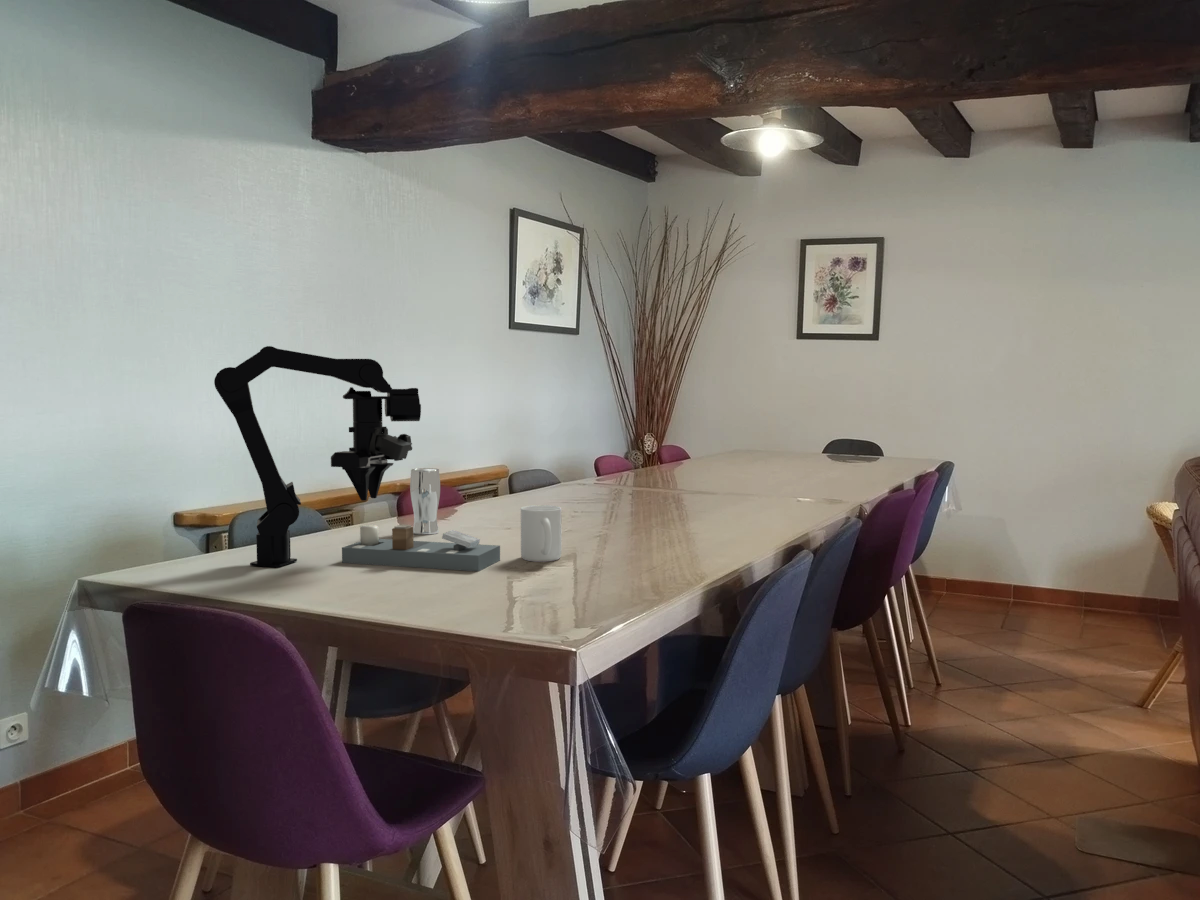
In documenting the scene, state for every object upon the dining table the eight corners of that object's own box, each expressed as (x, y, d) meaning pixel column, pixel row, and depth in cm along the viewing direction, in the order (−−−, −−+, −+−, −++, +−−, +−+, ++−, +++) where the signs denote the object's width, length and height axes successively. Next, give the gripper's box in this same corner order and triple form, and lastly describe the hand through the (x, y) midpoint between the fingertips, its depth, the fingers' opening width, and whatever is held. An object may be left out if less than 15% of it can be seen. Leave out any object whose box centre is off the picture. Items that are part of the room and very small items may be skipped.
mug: (568, 565, 180) (568, 512, 180) (526, 566, 178) (526, 514, 178) (557, 553, 192) (557, 504, 191) (518, 555, 190) (517, 505, 189)
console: (478, 571, 174) (478, 549, 173) (342, 562, 181) (341, 542, 181) (500, 560, 184) (500, 540, 184) (370, 552, 192) (369, 533, 192)
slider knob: (406, 549, 179) (406, 527, 178) (392, 548, 179) (392, 526, 179) (413, 547, 181) (413, 525, 181) (399, 546, 182) (399, 524, 182)
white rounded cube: (373, 547, 184) (372, 528, 183) (357, 546, 184) (356, 527, 184) (382, 543, 187) (381, 525, 187) (366, 543, 188) (365, 524, 188)
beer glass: (437, 535, 213) (436, 471, 212) (407, 535, 214) (406, 470, 212) (443, 530, 220) (442, 468, 219) (414, 530, 221) (413, 468, 219)
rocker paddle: (469, 547, 177) (470, 543, 177) (441, 538, 179) (442, 533, 179) (478, 543, 182) (479, 539, 182) (451, 534, 183) (452, 529, 183)
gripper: (381, 424, 173) (382, 507, 174) (425, 420, 191) (426, 495, 192) (328, 423, 176) (329, 504, 177) (377, 419, 194) (378, 493, 195)
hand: (368, 499), depth 185 cm, fingers open, 4 cm apart
